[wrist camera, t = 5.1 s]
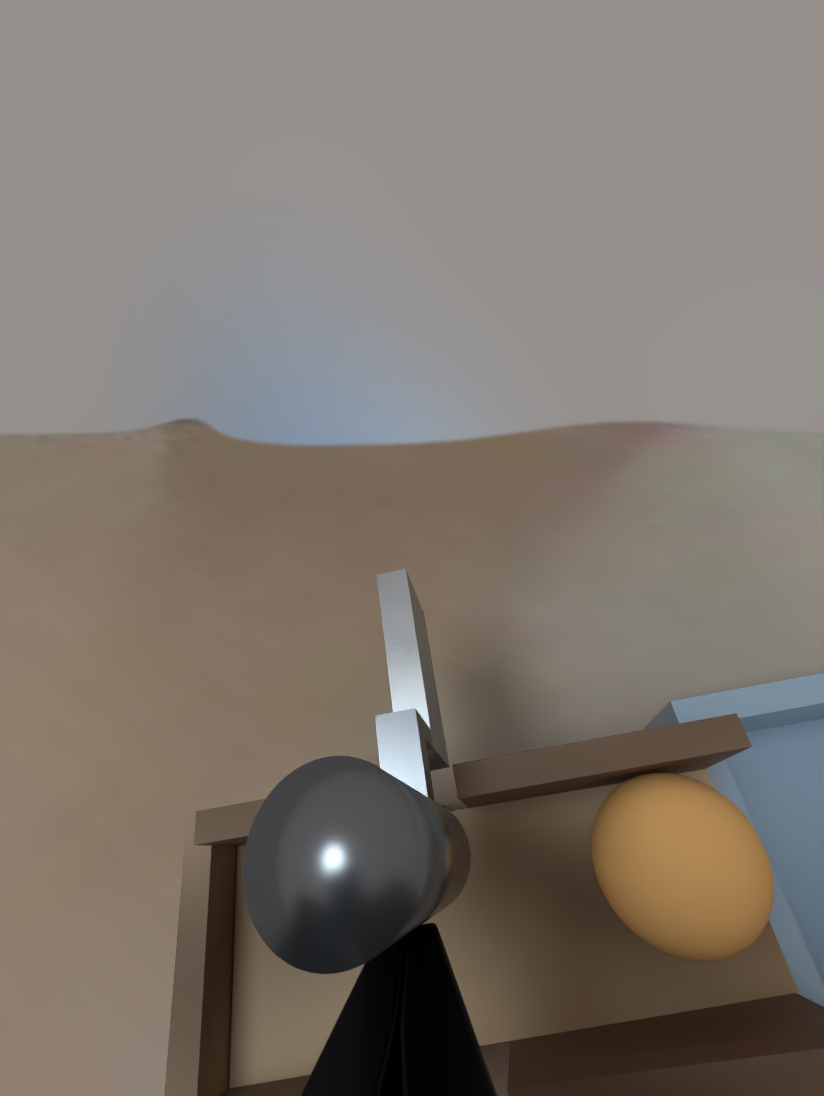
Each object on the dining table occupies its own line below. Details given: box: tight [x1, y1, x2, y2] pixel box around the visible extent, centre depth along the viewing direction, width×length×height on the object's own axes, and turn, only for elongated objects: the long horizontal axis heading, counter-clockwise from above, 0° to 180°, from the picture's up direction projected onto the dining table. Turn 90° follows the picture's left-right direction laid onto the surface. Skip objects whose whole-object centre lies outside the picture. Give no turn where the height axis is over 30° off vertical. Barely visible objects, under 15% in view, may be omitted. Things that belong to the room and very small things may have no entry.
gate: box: [243, 569, 471, 974], centre depth 10 cm, size 8×2×9 cm, turn 8°
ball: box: [591, 773, 774, 962], centre depth 11 cm, size 4×4×4 cm
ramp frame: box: [164, 713, 824, 1096], centre depth 14 cm, size 6×13×8 cm, turn 98°
